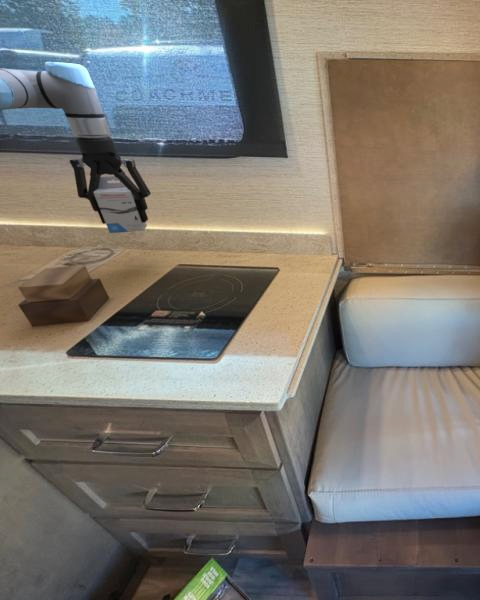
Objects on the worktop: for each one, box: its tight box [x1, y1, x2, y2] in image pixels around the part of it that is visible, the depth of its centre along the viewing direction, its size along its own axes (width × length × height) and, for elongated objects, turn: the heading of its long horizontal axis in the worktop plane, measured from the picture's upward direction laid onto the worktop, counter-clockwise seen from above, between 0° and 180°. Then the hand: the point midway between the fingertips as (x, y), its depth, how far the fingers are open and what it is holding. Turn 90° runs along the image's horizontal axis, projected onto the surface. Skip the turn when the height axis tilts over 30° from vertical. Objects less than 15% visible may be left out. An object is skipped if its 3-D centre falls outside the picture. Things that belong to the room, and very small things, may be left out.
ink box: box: [93, 175, 148, 234], centre depth 94 cm, size 8×5×15 cm, turn 115°
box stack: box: [17, 265, 110, 327], centre depth 80 cm, size 11×11×10 cm
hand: (126, 221), depth 97 cm, fingers closed on ink box, 9 cm apart
